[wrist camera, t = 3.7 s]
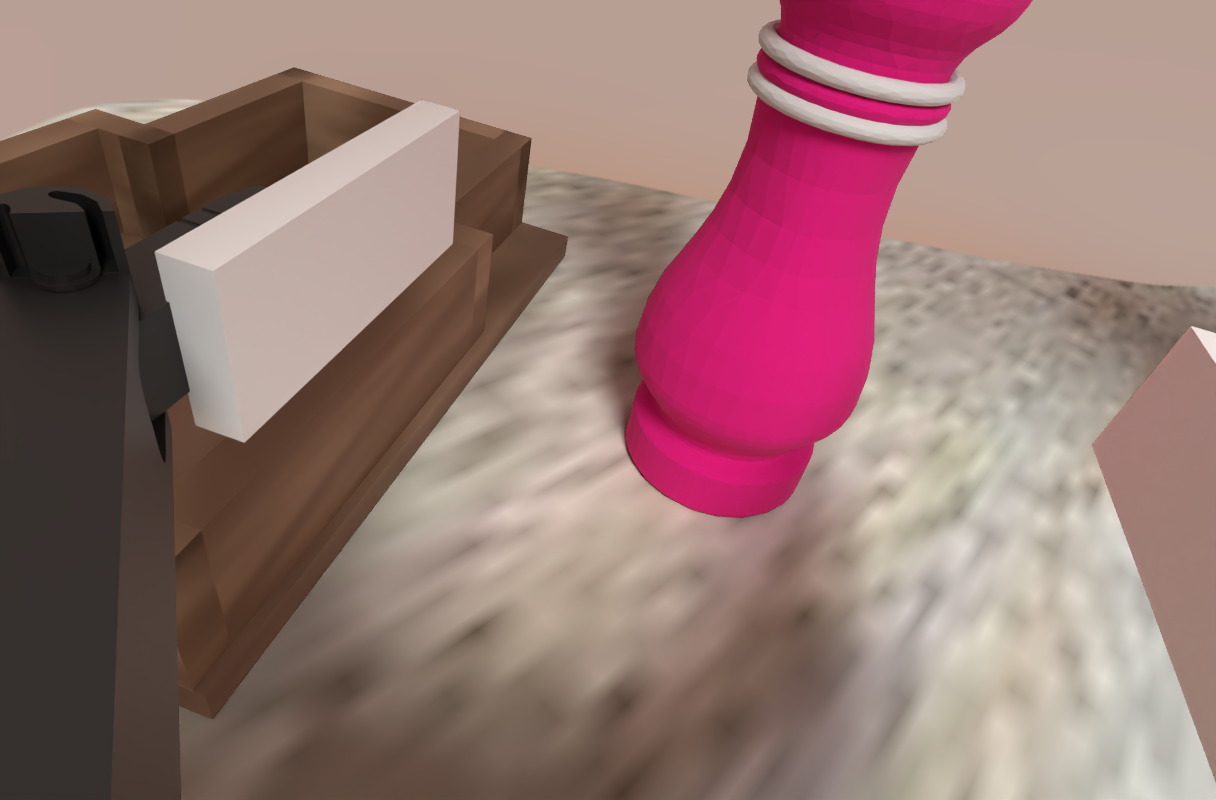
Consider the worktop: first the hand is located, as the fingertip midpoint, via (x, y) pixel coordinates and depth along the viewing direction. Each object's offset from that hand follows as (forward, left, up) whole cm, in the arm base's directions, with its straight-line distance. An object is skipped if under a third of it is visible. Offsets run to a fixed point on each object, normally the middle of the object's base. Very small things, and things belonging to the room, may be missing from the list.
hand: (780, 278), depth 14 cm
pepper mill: (0, -7, -11) cm, 13 cm away
